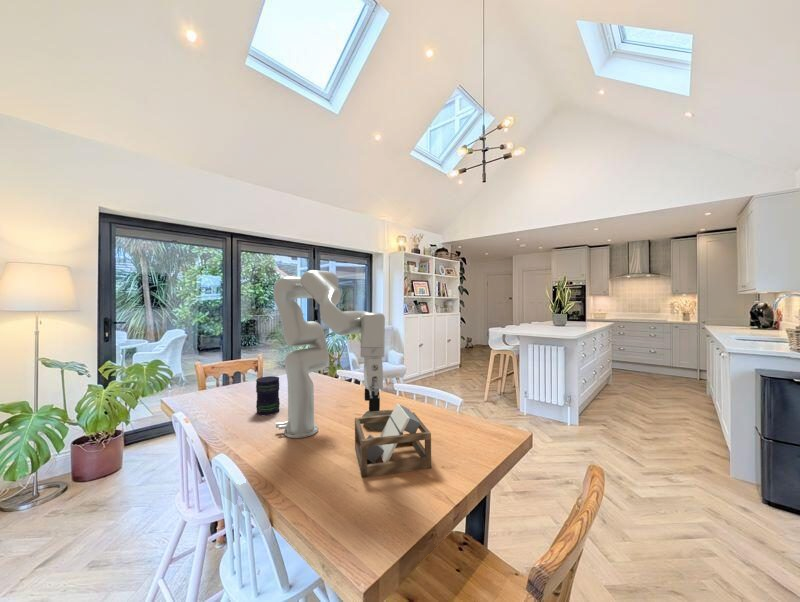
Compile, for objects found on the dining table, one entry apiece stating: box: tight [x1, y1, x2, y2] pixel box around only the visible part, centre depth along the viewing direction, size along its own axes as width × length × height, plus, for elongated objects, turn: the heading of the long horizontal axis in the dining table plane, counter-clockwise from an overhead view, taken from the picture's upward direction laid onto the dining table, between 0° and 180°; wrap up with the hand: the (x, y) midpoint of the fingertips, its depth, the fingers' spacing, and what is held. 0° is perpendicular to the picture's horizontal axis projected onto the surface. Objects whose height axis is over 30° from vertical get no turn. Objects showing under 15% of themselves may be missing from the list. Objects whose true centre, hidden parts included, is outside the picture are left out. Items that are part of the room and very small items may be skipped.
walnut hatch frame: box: [354, 411, 432, 479], centre depth 103 cm, size 21×18×10 cm
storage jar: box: [255, 375, 281, 416], centre depth 146 cm, size 10×10×15 cm
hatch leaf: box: [379, 402, 420, 462], centre depth 103 cm, size 15×15×5 cm
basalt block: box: [360, 434, 384, 464], centre depth 101 cm, size 5×5×5 cm
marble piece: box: [361, 409, 394, 432], centre depth 131 cm, size 17×15×4 cm
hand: (371, 405), depth 102 cm, fingers open, 9 cm apart
